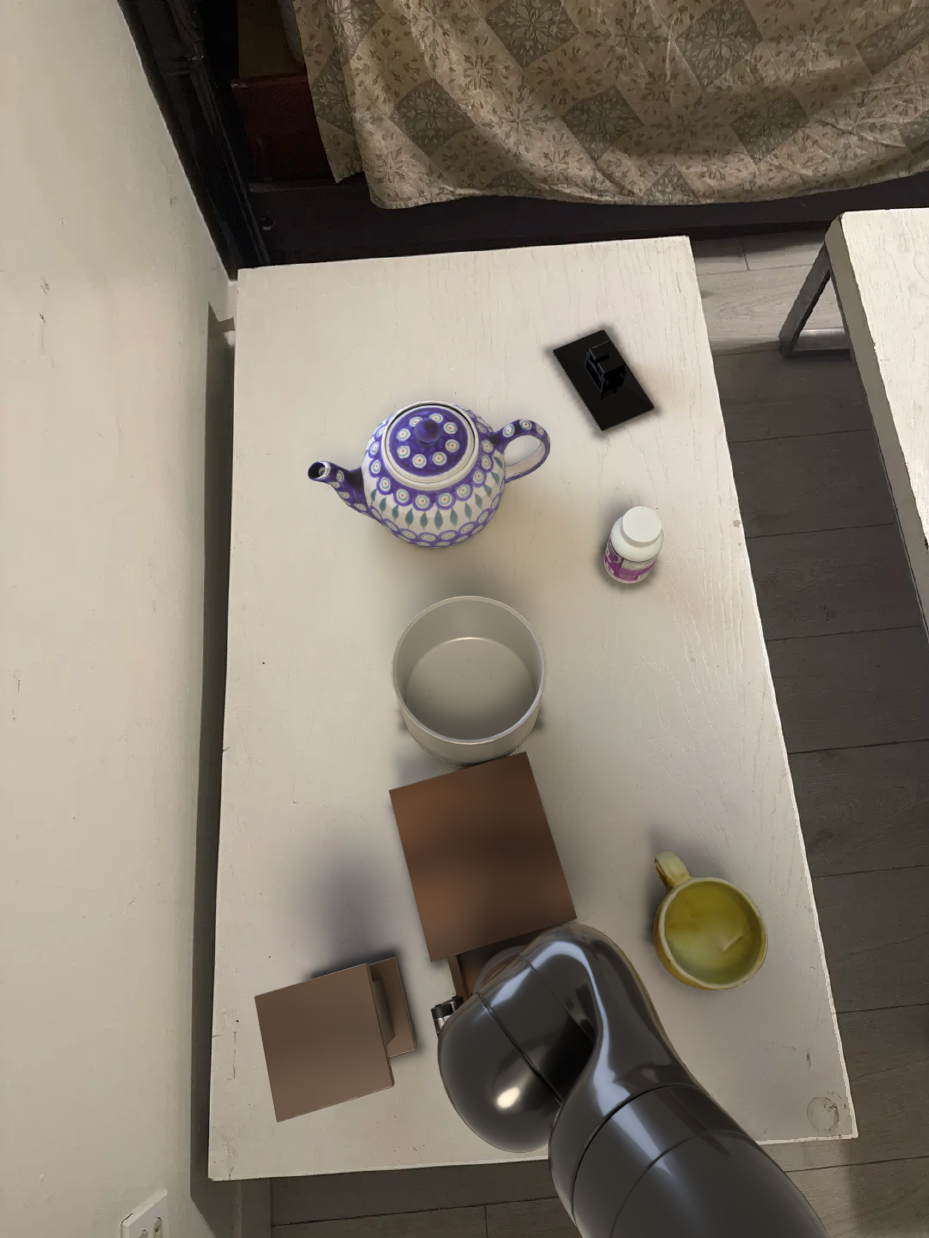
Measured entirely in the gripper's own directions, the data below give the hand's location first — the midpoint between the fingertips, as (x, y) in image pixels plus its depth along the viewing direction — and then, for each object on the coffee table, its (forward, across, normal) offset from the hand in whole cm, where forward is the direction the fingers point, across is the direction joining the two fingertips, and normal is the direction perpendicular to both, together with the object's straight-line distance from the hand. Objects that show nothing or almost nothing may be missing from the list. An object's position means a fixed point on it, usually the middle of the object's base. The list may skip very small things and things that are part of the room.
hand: (518, 991), depth 73 cm
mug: (+8, +17, +1) cm, 19 cm away
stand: (+8, -14, +2) cm, 16 cm away
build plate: (+8, +29, +60) cm, 68 cm away
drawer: (+7, 0, -1) cm, 7 cm away
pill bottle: (+8, +24, +38) cm, 45 cm away
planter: (+8, +3, +26) cm, 27 cm away
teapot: (+8, +6, +50) cm, 52 cm away
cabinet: (+8, 0, +12) cm, 14 cm away
